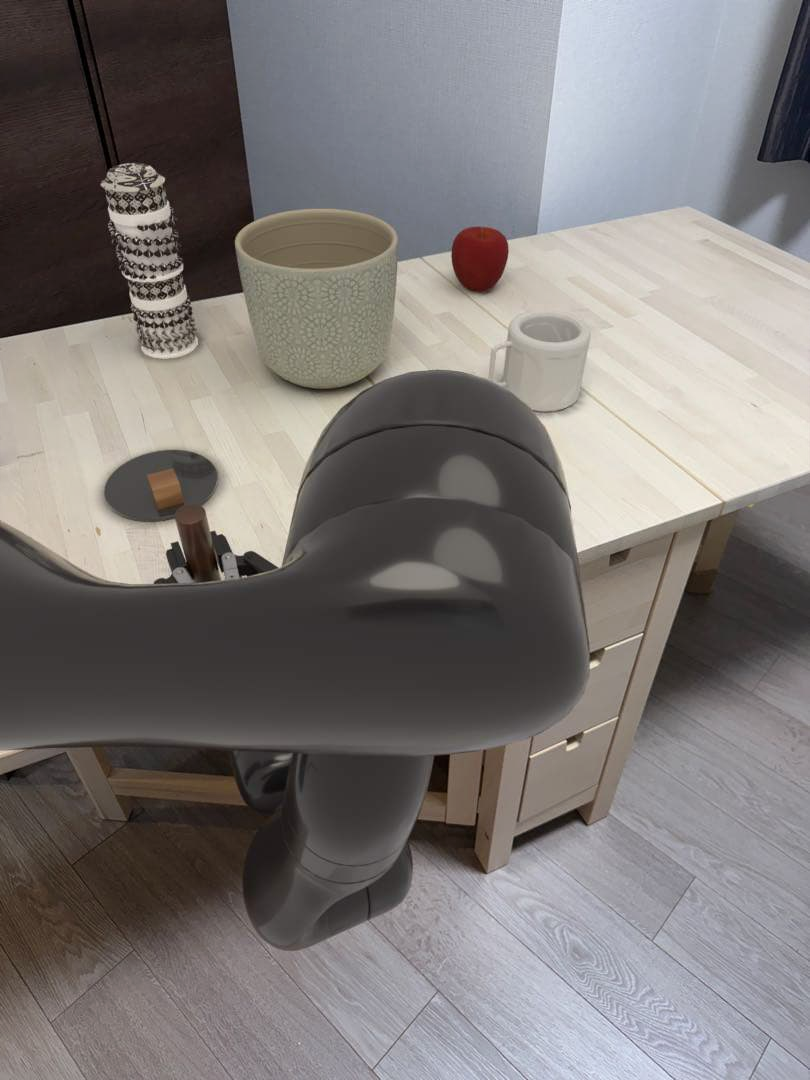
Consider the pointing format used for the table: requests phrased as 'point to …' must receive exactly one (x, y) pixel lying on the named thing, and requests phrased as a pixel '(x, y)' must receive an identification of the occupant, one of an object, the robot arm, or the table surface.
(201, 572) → the wooden peg
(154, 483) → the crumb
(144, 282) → the white patterned cylinder
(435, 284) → the table surface
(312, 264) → the planter
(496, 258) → the apple
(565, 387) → the mug
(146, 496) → the plate
